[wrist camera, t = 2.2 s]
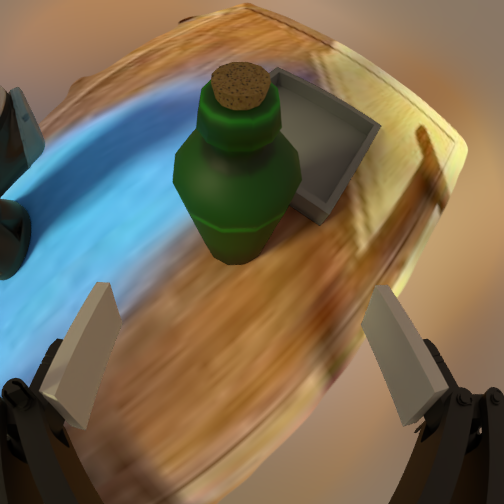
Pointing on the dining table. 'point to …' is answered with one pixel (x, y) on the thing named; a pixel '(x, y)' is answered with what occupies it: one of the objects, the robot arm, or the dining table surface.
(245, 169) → the bottle
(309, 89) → the tray
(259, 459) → the dining table surface
